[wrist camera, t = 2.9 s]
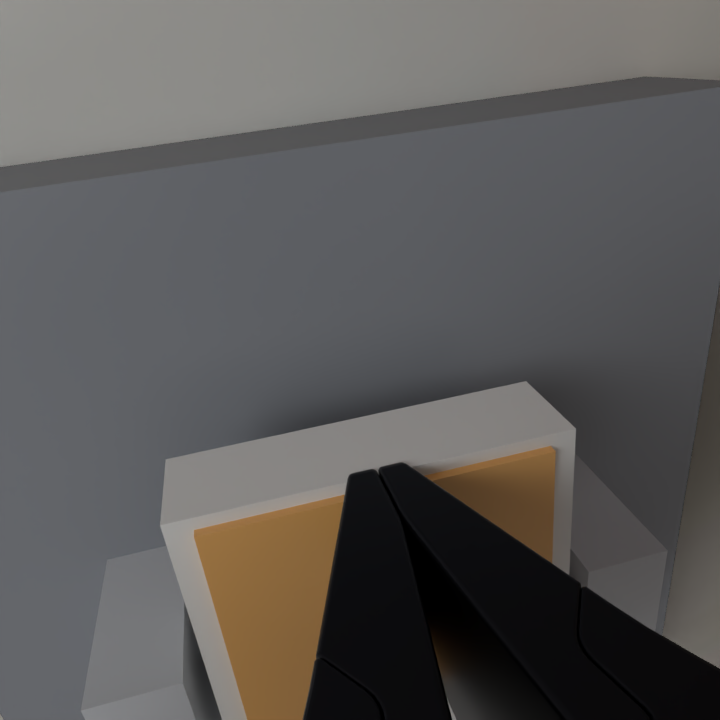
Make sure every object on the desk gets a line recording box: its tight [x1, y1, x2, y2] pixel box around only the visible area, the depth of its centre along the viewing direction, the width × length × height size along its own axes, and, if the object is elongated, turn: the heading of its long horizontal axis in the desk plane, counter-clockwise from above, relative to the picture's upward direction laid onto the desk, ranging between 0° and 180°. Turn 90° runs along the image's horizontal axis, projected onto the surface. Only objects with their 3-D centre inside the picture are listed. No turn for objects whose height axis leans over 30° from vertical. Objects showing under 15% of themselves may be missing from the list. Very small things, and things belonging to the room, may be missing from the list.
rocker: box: [160, 381, 576, 720], centre depth 12 cm, size 10×6×2 cm, turn 6°
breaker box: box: [0, 77, 720, 720], centre depth 14 cm, size 18×16×6 cm
